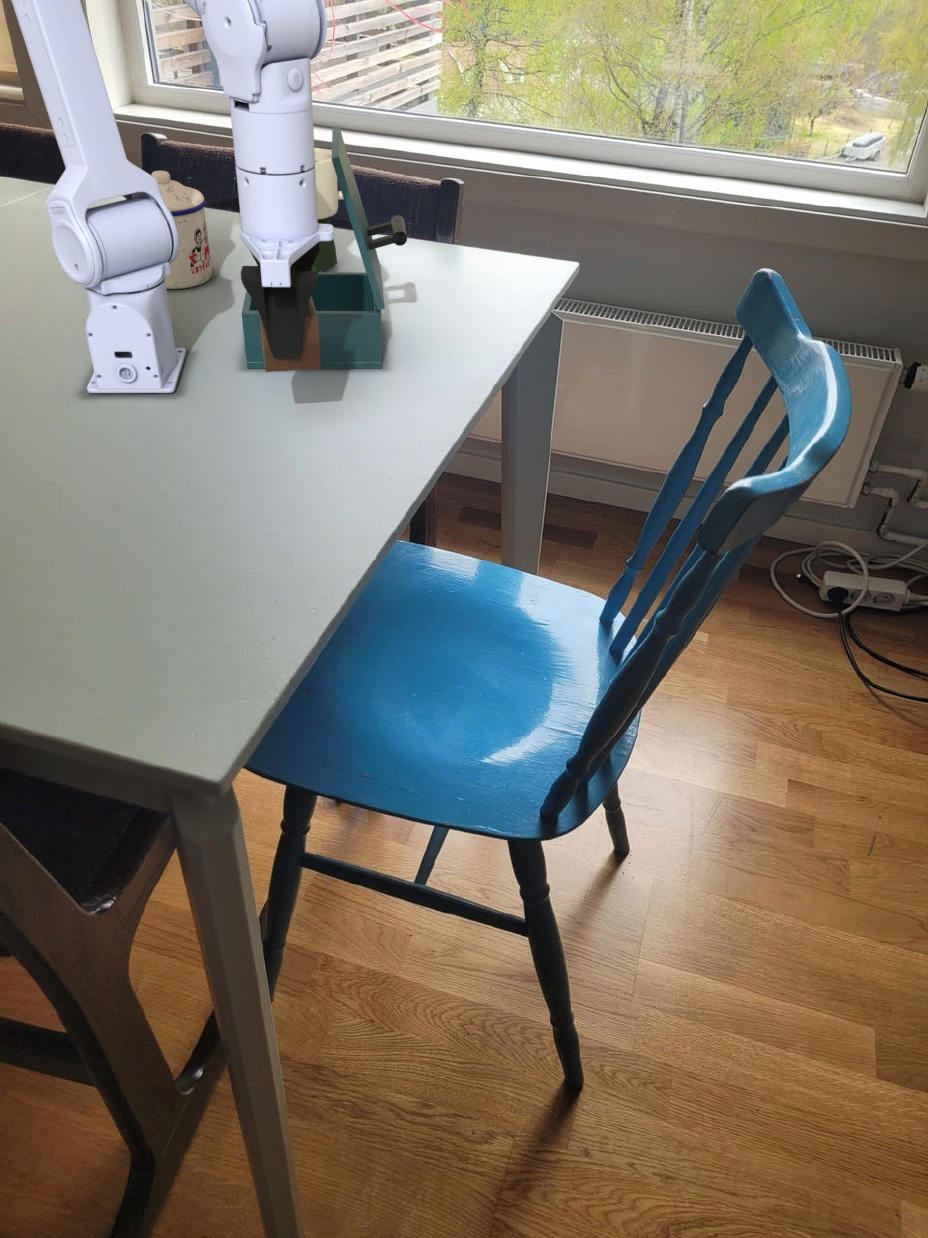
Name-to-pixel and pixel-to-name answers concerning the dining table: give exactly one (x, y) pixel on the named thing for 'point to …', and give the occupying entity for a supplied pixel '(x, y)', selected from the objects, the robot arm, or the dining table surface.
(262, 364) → the teal wooden box
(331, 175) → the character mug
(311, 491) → the dining table surface
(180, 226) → the teacup with lid
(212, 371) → the dining table surface
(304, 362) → the block
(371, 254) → the lid
